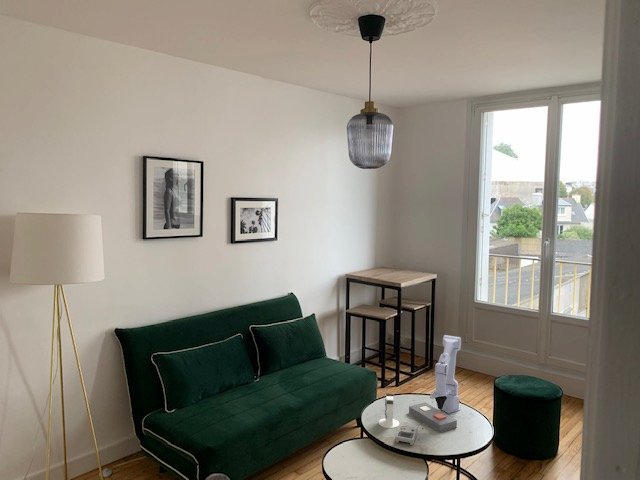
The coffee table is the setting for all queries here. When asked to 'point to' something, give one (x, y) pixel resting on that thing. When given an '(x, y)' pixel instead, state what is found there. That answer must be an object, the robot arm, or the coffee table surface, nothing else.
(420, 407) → the plug
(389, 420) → the white post stand
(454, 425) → the console
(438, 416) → the red plug
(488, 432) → the coffee table surface
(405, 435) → the handheld gaming device
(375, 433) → the coffee table surface
